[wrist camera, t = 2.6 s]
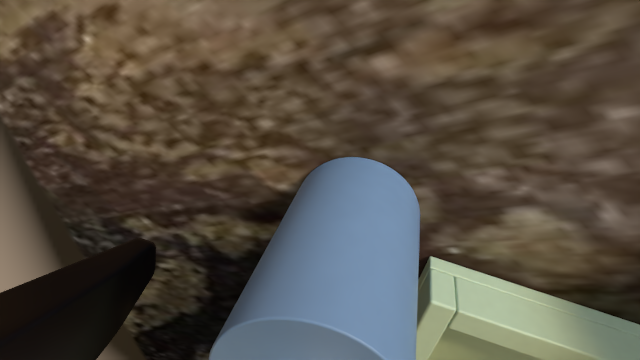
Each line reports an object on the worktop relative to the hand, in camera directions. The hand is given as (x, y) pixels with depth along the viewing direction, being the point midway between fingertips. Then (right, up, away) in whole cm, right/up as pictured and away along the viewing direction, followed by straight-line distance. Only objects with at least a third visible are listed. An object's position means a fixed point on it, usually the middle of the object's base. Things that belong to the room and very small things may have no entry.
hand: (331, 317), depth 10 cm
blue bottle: (+1, +2, +4) cm, 5 cm away
